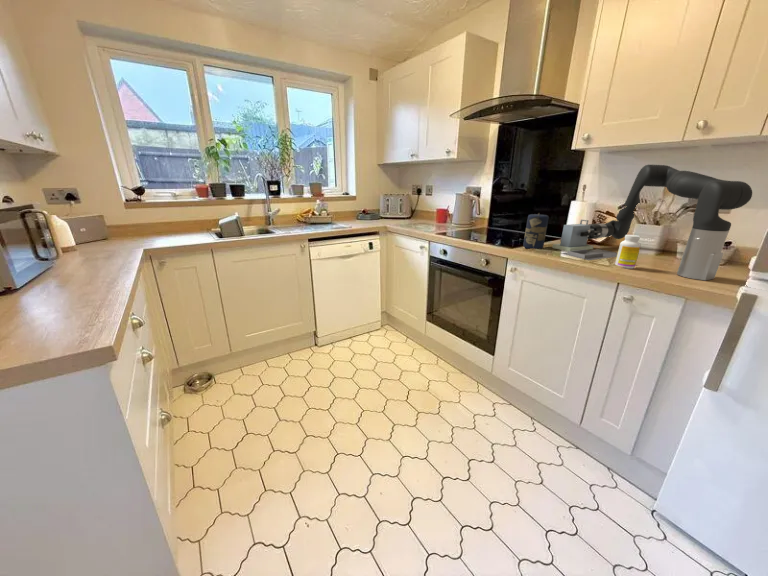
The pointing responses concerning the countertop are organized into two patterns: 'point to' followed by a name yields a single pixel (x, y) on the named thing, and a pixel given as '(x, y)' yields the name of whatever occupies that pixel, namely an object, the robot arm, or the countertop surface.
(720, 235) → the robot arm
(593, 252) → the printer bay
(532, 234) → the canister
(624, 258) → the supplement bottle
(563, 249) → the tray
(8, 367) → the countertop surface
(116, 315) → the countertop surface
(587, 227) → the grey block
